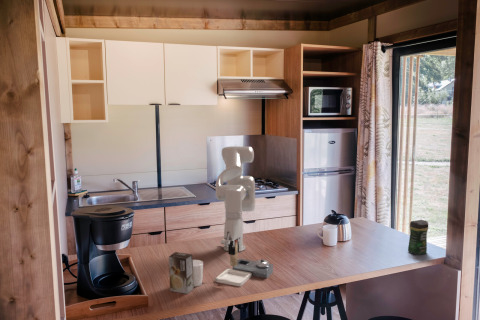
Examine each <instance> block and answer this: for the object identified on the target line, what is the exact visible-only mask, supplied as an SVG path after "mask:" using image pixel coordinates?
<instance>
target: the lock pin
mask: <svg viewBox="0 0 480 320" xmlns="http://www.w3.org/2000/svg"><path fill="white" fill-rule="evenodd" d="M231 240H232V239H231ZM230 242H232V241H230ZM234 247H235V255H229V258H230V262H229V265H230V266H231V267H233V266H237V260H238V253H237V239H236V240H235V243H234Z"/></svg>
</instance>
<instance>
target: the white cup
mask: <svg viewBox="0 0 480 320" xmlns="http://www.w3.org/2000/svg"><path fill="white" fill-rule="evenodd" d="M203 271H204V261H203V260H200V259H193V288H194V287H199V286H201V285H202V284H203V274H204V272H203Z"/></svg>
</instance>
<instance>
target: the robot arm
mask: <svg viewBox="0 0 480 320" xmlns="http://www.w3.org/2000/svg"><path fill="white" fill-rule="evenodd" d="M221 157H222V160H223V162H224V165H225V169H224V170H223V171H222V172H221V173H219V175H218V177H217V179H216V181H215V182H216V183H215V197H216V199H217V200H218V201H222V202H223V203H224V209H225V212H224V213H225V215H224V216H225V221H224V227H223V239H220V244H221V245H223V250H224V251H225V252H228V255H229V256H230V255H235V247H234V243H235V240H236V239H237V254H239V252H243V251H245V250H246V245H245V244H243V243H244V242H243V241H244V238H243V237H244V235H243V234H244V232H243V231H244V230H243V228H244V227H243V226H244V223H243V221H244V220H243V215H242V214H243V212H244V213H245V212H253V211H255V208H256V182H255V178H254V177H253V176H251V175H242V173H243V163H244V164H246V163H247V164H249V163H253V162H254V159H255V152H254V149H253V147H252V146H236V145H235V146H233V145H232V146H225V147H222V149H221ZM224 183H226V184H224ZM231 239H232V240H231ZM230 241H232V242H230Z"/></svg>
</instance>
